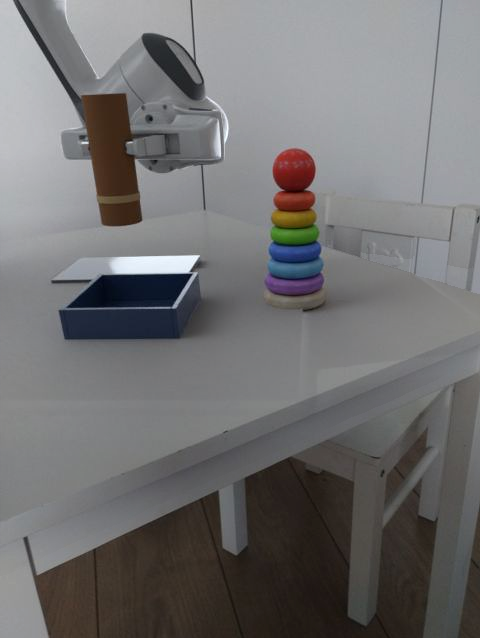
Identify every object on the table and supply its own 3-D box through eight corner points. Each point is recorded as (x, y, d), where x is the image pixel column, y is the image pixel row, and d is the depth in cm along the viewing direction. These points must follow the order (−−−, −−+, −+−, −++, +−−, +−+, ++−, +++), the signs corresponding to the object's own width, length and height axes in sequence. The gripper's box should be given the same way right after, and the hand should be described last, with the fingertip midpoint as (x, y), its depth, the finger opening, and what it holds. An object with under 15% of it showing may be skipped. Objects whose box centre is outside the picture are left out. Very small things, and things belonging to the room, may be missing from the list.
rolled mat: (94, 227, 66) (72, 95, 60) (108, 218, 71) (89, 94, 65) (136, 226, 66) (118, 93, 60) (148, 217, 70) (132, 92, 64)
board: (52, 286, 84) (50, 280, 83) (82, 263, 95) (80, 257, 94) (185, 284, 82) (185, 277, 82) (200, 261, 93) (200, 255, 92)
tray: (65, 344, 64) (58, 310, 63) (104, 303, 76) (99, 273, 74) (180, 343, 63) (176, 308, 61) (201, 302, 75) (198, 272, 73)
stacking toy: (333, 309, 70) (335, 150, 62) (270, 316, 69) (263, 154, 61) (317, 289, 77) (317, 144, 70) (259, 295, 76) (253, 147, 69)
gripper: (92, 114, 78) (24, 120, 66) (232, 109, 72) (186, 116, 60) (99, 162, 80) (36, 177, 68) (235, 162, 74) (192, 178, 62)
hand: (107, 148), depth 64 cm, fingers closed on rolled mat, 5 cm apart
